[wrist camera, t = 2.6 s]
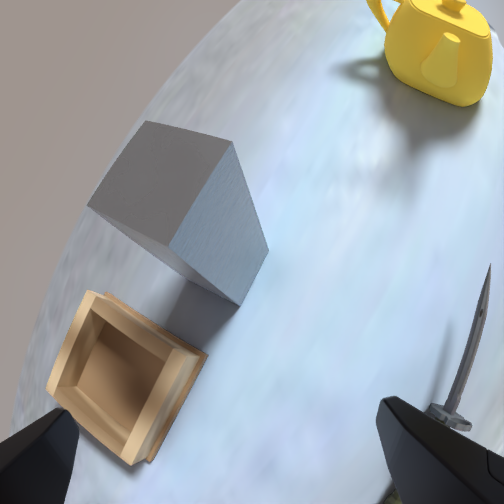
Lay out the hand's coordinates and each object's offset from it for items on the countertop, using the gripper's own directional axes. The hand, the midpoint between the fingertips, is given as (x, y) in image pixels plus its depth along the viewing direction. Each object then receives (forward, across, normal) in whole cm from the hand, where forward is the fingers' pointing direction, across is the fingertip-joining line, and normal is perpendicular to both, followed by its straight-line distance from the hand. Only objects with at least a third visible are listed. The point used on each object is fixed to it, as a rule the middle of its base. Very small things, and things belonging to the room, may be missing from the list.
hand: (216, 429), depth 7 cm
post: (+15, 0, 0) cm, 15 cm away
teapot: (+25, -23, -18) cm, 38 cm away
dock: (+12, +8, +7) cm, 16 cm away
